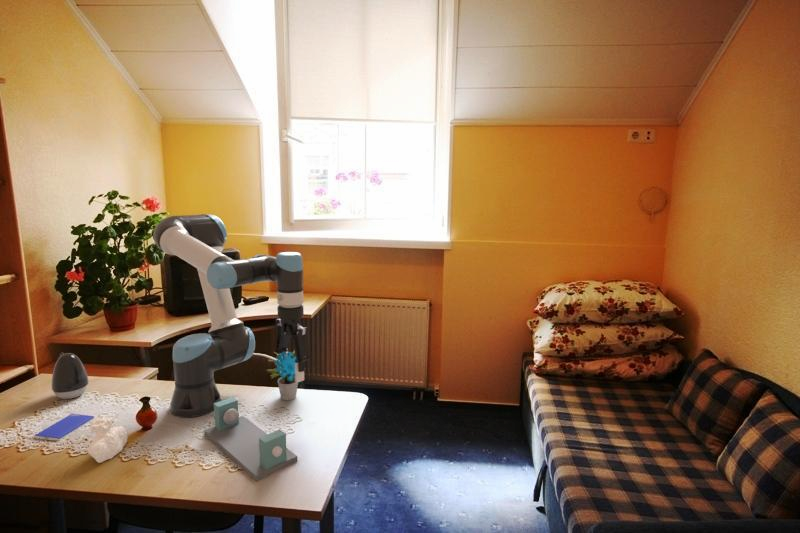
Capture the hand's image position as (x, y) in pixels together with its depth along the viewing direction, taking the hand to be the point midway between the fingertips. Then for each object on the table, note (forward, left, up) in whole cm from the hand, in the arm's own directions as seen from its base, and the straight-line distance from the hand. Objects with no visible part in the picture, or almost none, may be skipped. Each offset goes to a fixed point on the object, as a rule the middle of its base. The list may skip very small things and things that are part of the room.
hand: (291, 376), depth 137 cm
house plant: (-17, +9, -15) cm, 24 cm away
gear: (0, 0, 0) cm, 0 cm away
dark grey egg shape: (-68, -44, -15) cm, 82 cm away
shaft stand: (+3, -16, -15) cm, 22 cm away
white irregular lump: (-21, -45, -15) cm, 52 cm away
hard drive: (-44, -50, -16) cm, 69 cm away
